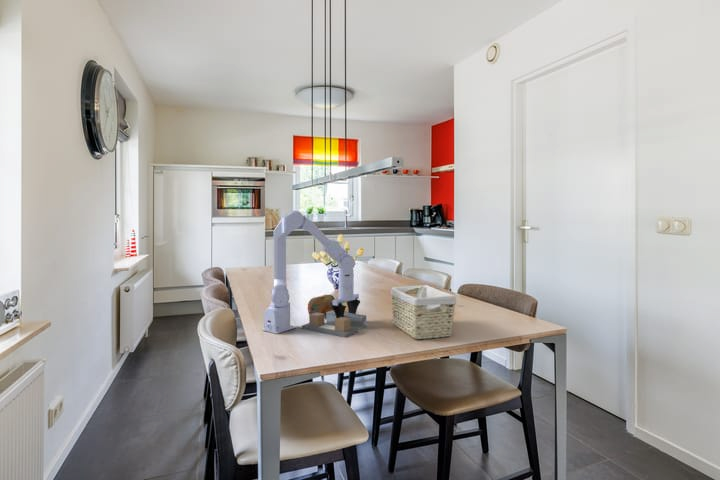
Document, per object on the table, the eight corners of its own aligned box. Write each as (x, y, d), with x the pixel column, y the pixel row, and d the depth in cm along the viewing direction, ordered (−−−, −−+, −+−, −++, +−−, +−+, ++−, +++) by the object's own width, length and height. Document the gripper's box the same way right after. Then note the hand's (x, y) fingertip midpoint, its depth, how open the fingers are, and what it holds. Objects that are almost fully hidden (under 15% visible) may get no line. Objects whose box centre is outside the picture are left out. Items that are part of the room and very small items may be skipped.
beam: (361, 329, 147) (361, 317, 146) (326, 323, 155) (326, 312, 154) (366, 327, 150) (366, 315, 150) (331, 321, 158) (331, 310, 158)
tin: (311, 319, 160) (311, 299, 159) (306, 318, 162) (306, 298, 161) (336, 312, 172) (336, 293, 171) (330, 311, 174) (330, 292, 173)
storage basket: (389, 323, 155) (389, 286, 154) (426, 320, 159) (427, 284, 158) (413, 342, 132) (414, 298, 131) (457, 338, 136) (458, 295, 135)
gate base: (345, 337, 136) (345, 323, 136) (301, 328, 148) (301, 314, 147) (358, 331, 143) (358, 318, 143) (315, 323, 154) (315, 310, 154)
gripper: (343, 289, 143) (343, 326, 144) (365, 283, 155) (365, 318, 156) (327, 287, 147) (328, 323, 148) (350, 282, 159) (350, 315, 160)
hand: (346, 320), depth 152 cm, fingers open, 7 cm apart
